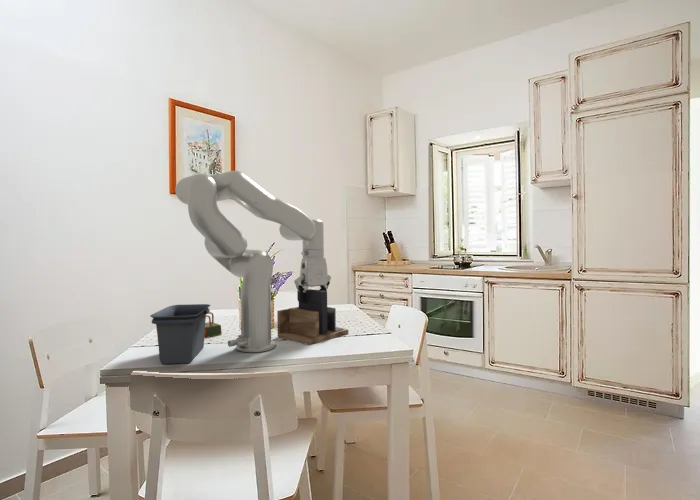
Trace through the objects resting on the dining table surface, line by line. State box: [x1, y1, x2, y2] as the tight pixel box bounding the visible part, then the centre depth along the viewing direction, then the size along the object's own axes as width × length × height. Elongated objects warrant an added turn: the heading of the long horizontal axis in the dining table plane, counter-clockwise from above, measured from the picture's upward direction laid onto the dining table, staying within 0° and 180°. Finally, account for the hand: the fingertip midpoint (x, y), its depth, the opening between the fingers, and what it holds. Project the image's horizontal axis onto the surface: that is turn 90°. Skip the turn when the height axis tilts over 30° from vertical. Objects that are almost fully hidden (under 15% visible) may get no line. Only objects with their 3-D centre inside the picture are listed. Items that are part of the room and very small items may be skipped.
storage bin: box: [149, 303, 215, 365], centre depth 126 cm, size 21×16×14 cm
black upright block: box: [296, 288, 328, 334], centre depth 150 cm, size 11×4×15 cm, turn 56°
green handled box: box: [204, 321, 222, 339], centre depth 150 cm, size 8×16×4 cm, turn 134°
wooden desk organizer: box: [276, 306, 349, 346], centre depth 151 cm, size 20×16×10 cm
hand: (313, 301), depth 150 cm, fingers open, 9 cm apart
